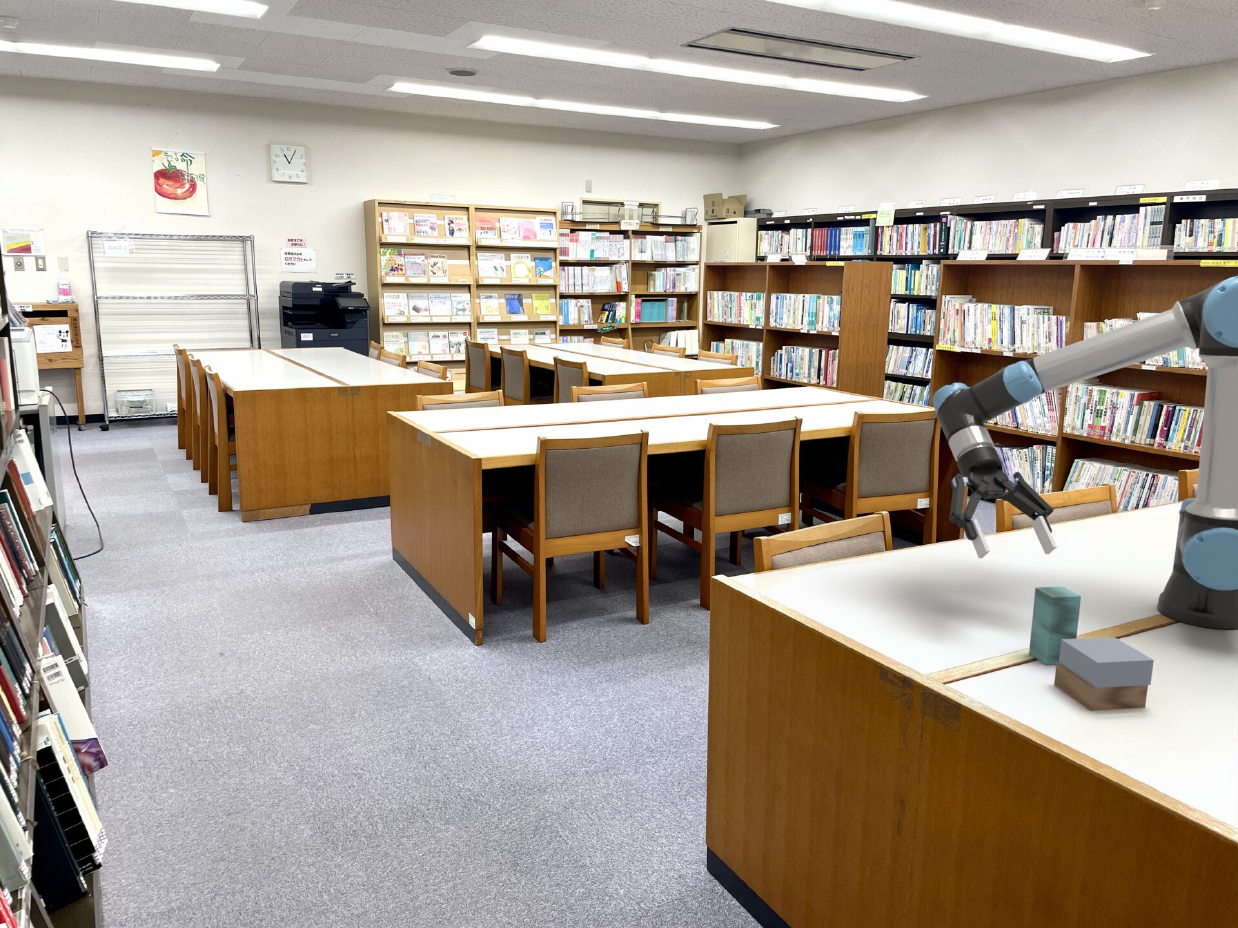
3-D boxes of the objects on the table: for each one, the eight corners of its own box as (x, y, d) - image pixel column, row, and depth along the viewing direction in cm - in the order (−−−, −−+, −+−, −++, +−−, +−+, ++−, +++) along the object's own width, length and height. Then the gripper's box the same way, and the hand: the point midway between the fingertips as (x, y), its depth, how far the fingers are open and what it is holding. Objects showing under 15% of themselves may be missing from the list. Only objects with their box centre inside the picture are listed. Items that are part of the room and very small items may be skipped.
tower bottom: (1105, 683, 143) (1108, 660, 142) (1144, 709, 134) (1148, 684, 133) (1053, 686, 142) (1056, 662, 141) (1090, 712, 133) (1093, 687, 132)
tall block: (1055, 651, 154) (1062, 586, 152) (1073, 663, 149) (1081, 596, 147) (1029, 653, 154) (1035, 587, 151) (1046, 665, 149) (1053, 597, 146)
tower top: (1111, 660, 142) (1113, 636, 141) (1150, 684, 133) (1153, 659, 132) (1058, 662, 141) (1061, 639, 140) (1095, 687, 132) (1098, 662, 131)
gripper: (1022, 463, 176) (1066, 558, 164) (908, 468, 171) (946, 566, 159) (1043, 442, 170) (1090, 538, 158) (925, 446, 165) (965, 546, 153)
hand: (1018, 552), depth 159 cm, fingers open, 13 cm apart
